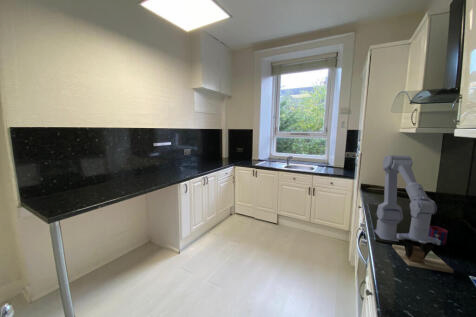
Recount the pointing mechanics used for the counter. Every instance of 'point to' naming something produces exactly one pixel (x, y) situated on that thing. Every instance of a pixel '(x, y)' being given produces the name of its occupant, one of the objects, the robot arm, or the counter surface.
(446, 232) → the mug
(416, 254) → the peg
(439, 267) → the board
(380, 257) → the counter surface
